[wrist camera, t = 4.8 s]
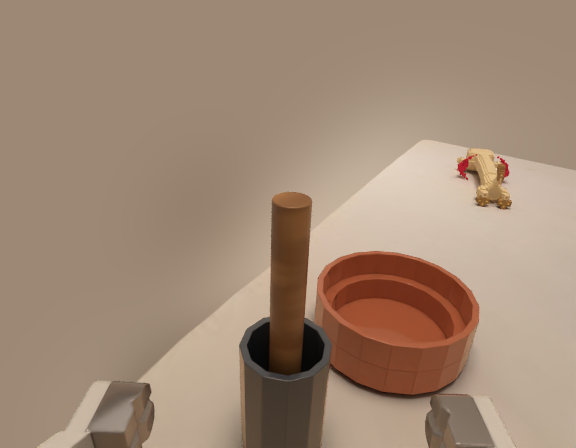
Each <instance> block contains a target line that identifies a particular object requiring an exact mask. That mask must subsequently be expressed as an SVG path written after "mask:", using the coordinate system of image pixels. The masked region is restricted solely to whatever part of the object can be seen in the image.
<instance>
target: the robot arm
mask: <svg viewBox="0 0 576 448" xmlns="http://www.w3.org/2000/svg"><path fill="white" fill-rule="evenodd" d="M150 394H151V388H150V384H148V383H135V382H120V381H100V380H96V381H95V382H94V383H93V384H92V385H91V386H90V388H89V389H88V391H87V393H86V394H85V396H84V398H83V400H82V401H81V403H80V405H79V407H78V409H77V410H76V412H75V414H74V415H73V417H72V419H71V421H70V422H69V424H68V426H67V427H66V429H65V431H59V432H57V433H56V434H55V435H53V436H52V437H50V438H49V439H48V440H46V441H45V442H43V444H41V445H39V446H38V447H37V448H142V443H144V442H145V441H146V440H147V439H148V438H149V436H150V433H151V430H152V426H153V421H154V404H153V402H152V401H151V400H150V399H149V397H150ZM430 404H431V407H432V410H431V411H430V412H428V413H427V416H426V421H425V433H426V438H427V442H428V446H429V448H516V446H515V444H514V442H513V440H512V438H511V436H510V434H509V432H508V430H507V428H506V426H505V425H504V423H503V421H502V419H501V417H500V415H499V413H498V411H497V409H496V407H495V405H494V404H493V402H492V400H491V398H490V397H489V396H484V395H463V394H434V395H433V396H432V397H431V401H430Z"/></svg>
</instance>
